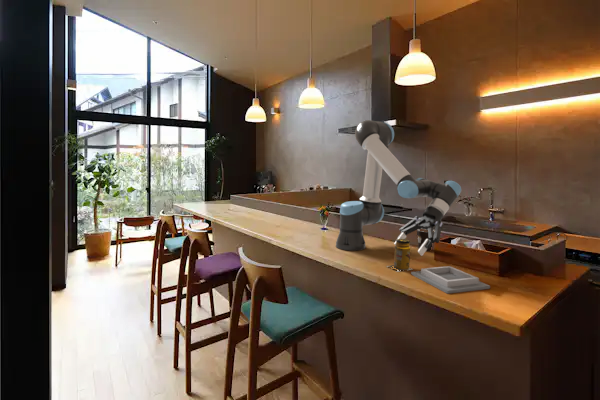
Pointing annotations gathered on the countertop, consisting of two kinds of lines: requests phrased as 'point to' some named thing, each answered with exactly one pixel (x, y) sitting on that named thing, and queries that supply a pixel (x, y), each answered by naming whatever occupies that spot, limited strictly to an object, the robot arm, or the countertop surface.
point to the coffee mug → (422, 238)
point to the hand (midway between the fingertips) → (407, 249)
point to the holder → (450, 279)
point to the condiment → (402, 255)
